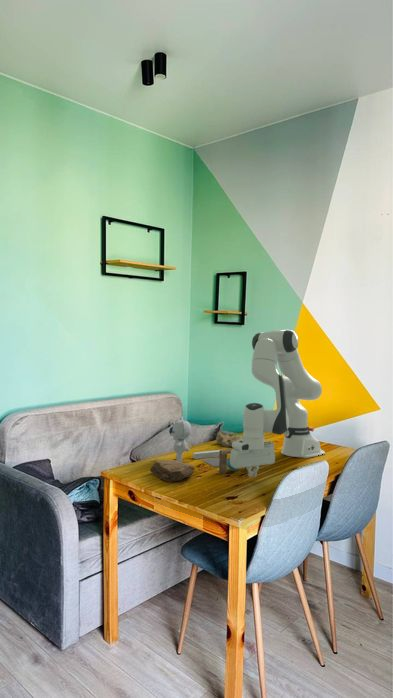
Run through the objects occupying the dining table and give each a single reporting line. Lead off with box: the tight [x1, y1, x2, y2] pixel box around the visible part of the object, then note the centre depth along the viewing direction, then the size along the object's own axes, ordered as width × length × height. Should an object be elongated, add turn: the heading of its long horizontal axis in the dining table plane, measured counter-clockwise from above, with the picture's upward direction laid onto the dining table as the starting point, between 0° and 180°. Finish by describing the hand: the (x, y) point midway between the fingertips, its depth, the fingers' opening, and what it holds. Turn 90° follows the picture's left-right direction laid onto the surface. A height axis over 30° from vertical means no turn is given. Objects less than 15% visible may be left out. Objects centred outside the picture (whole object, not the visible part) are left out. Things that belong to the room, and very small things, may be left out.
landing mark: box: [201, 457, 229, 468], centre depth 221 cm, size 12×12×1 cm
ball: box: [227, 457, 240, 472], centre depth 208 cm, size 6×6×6 cm
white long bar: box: [192, 449, 221, 460], centre depth 230 cm, size 16×2×2 cm, turn 116°
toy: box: [169, 416, 192, 462], centre depth 222 cm, size 17×10×20 cm, turn 5°
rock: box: [150, 459, 195, 483], centre depth 197 cm, size 20×7×15 cm
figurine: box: [216, 431, 242, 448], centre depth 253 cm, size 12×8×20 cm
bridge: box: [218, 448, 253, 475], centre depth 207 cm, size 3×15×10 cm, turn 116°
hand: (252, 476), depth 195 cm, fingers closed
